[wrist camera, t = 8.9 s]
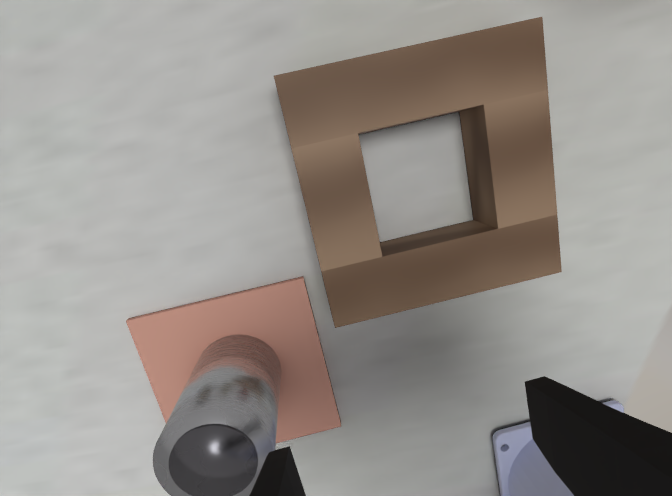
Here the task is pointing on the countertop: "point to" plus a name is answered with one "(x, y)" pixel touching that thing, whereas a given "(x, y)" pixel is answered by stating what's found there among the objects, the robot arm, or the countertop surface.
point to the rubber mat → (253, 320)
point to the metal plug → (222, 421)
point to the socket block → (481, 161)
